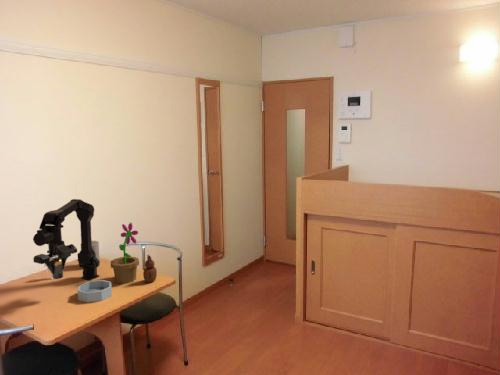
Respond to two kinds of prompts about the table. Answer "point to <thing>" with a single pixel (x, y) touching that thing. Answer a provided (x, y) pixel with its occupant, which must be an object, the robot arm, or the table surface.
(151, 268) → the wooden figurine
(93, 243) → the pillar candle
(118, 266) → the flowerpot
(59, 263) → the battery cell
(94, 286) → the ceramic bowl
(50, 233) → the robot arm
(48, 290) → the table surface
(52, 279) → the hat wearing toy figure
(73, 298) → the table surface
